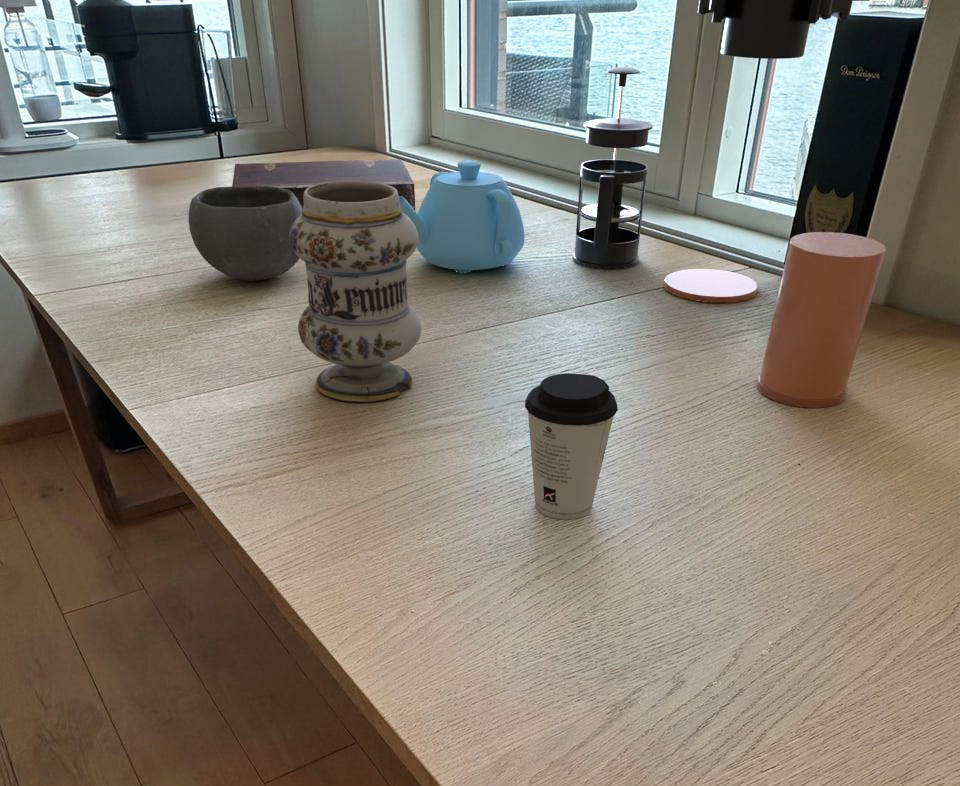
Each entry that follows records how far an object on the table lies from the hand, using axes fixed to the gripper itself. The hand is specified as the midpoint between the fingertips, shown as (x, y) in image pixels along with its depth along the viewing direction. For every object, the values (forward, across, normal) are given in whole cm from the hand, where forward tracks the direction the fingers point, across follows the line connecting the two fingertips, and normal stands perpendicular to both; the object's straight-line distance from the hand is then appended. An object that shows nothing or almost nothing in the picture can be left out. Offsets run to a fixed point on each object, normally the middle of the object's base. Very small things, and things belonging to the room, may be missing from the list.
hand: (765, 5), depth 87 cm
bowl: (+10, -60, +31) cm, 68 cm away
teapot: (-5, -36, +31) cm, 48 cm away
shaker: (+22, +12, +30) cm, 40 cm away
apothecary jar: (+37, -30, +31) cm, 56 cm away
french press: (-15, -18, +31) cm, 38 cm away
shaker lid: (-5, 0, +4) cm, 6 cm away
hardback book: (-29, -70, +31) cm, 82 cm away
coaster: (-8, -2, +30) cm, 31 cm away
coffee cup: (+53, -4, +30) cm, 61 cm away
